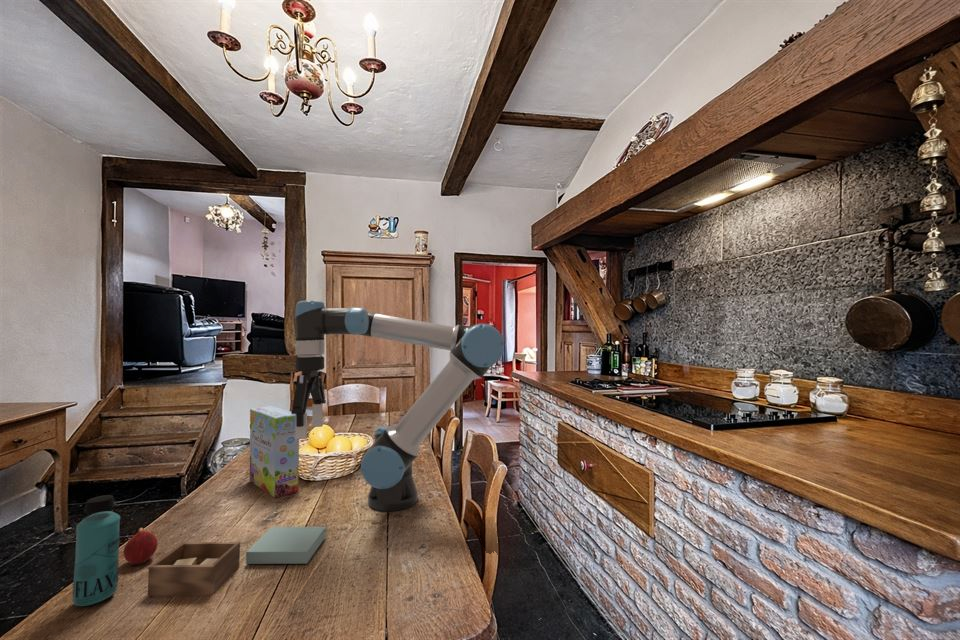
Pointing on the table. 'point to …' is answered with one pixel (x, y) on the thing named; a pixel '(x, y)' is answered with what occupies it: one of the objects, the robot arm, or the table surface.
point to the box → (194, 569)
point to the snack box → (274, 450)
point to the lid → (286, 545)
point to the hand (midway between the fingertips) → (309, 432)
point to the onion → (140, 547)
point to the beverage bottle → (96, 553)
